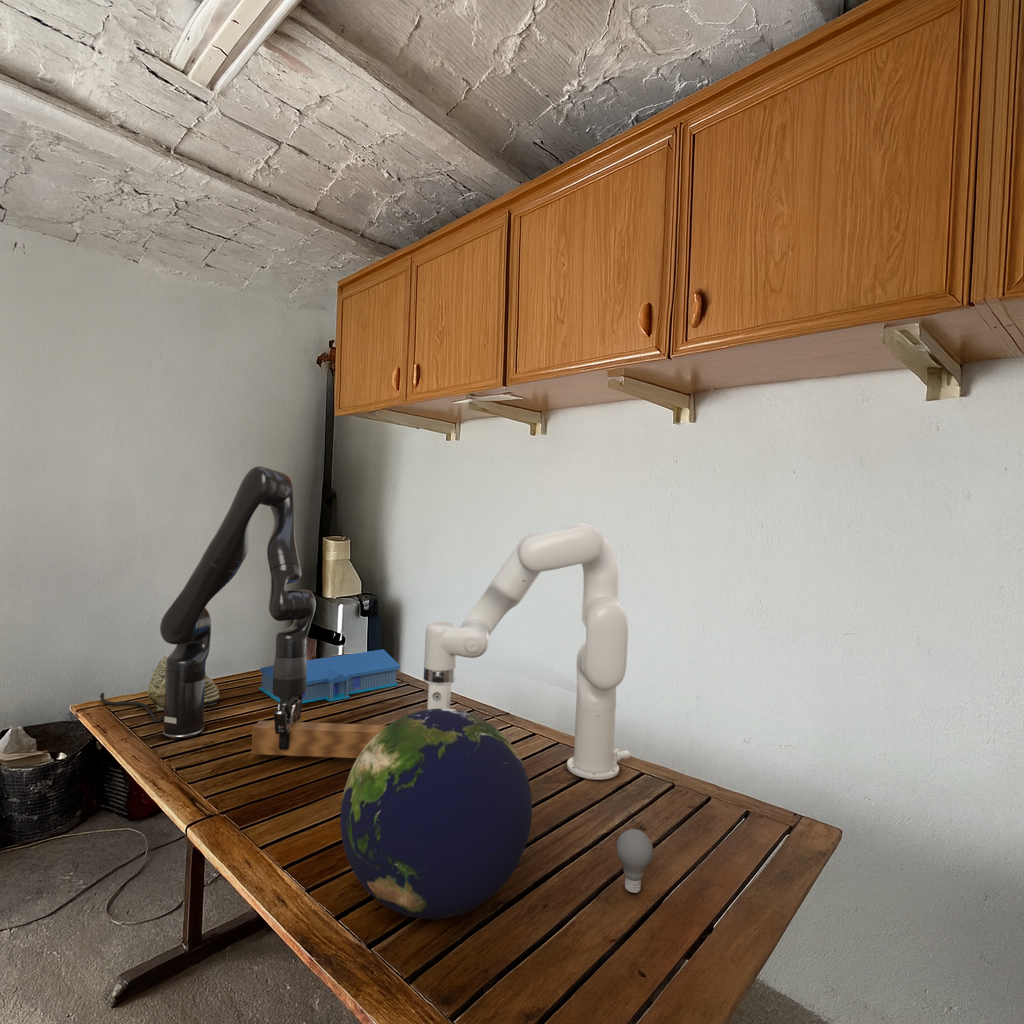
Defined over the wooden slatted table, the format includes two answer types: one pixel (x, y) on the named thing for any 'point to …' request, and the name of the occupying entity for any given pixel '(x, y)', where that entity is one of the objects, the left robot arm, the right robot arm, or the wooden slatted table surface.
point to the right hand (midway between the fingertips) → (436, 749)
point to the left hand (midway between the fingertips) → (287, 744)
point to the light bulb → (634, 857)
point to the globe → (436, 813)
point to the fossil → (158, 687)
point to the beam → (314, 739)
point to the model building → (341, 676)
